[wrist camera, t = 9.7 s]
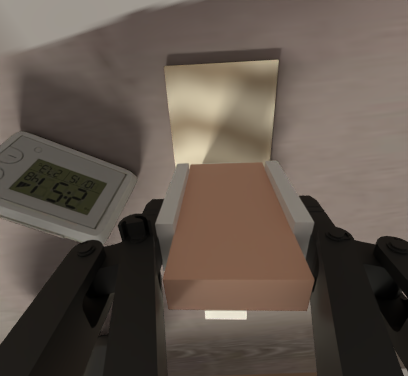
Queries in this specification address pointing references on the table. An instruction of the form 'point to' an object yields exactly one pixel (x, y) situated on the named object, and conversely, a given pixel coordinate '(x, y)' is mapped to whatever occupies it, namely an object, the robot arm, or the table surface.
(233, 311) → the domino
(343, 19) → the table surface
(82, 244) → the robot arm
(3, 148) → the digital clock
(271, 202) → the domino
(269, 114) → the board
